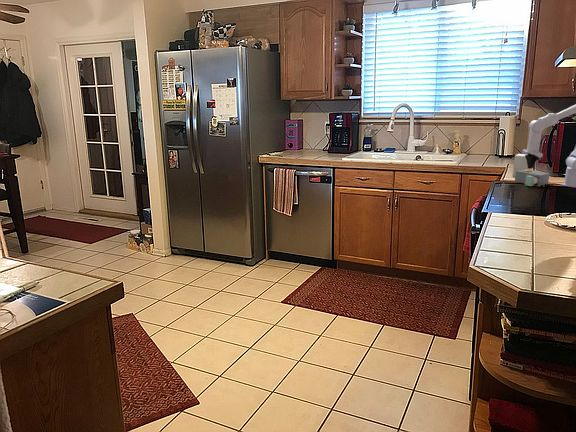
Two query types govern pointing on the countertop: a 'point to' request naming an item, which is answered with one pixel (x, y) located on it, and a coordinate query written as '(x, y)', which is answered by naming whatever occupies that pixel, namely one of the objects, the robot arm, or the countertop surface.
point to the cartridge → (531, 180)
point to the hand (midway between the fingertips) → (530, 168)
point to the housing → (522, 175)
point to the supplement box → (519, 163)
